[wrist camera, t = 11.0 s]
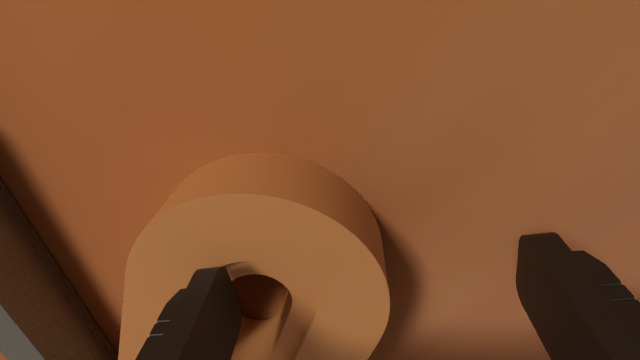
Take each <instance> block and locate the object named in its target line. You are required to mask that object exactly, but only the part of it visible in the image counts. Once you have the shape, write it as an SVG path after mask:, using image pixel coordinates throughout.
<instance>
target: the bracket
mask: <svg viewBox="0 0 640 360" xmlns="http://www.w3.org/2000/svg"><path fill="white" fill-rule="evenodd" d="M221 266H223V267H225V268H226V269H227V271H228V273H229V276H230V278H231V281H232V283H233V280H235V279H236V278H238V277H241V276H244V275H249V274H259V275H265V276H269V277H271V278H274V279H276V280H278V281H279V282H281V283H282V284H283V285H284V286H285V287H286V288H287V289H288V291H287V293H286V296H285V298H284V301H283V303H282V306H281V308H280V311H279V312H278V313H277V314H276V315H275V316H274V317H272V318H269V319H266V320H252V319H248V318H245V317H243V316H242V324H241V328H240V331H239V335H238V338H237V341H236V345H235V348H234V351H233V354H232V358H231V360H368V358H369V357H370V355H371V354H372V352H373V350H374V349H375V347H376V345H377V344H378V342H379V341H380V339H381V337H382V335H383V333H384V331H385V329H386V326H387V323H388V319H389V313H390V295H389V287H388V280H387V273H386V266H385V258H384V251H383V244H382V237H381V233H380V229H379V226H378V223H377V221H376V218H375V216H374V214H373V213H372V211H371V209H370V207H369V206H368V205H367V203H366V202H365V201H364V199H363V198H362V197H361V196H360V195H359V193H358V192H357V191H356V190H355V189H354V188H353V187H351V186H350V185H349V184H348V183H347V182H346V181H344V180H343V179H342V178H340V177H339V176H337V175H336V174H334V173H333V172H331V171H329V170H327V169H325V168H324V167H322V166H319V165H317V164H315V163H312V162H310V161H307V160H304V159H301V158H298V157H294V156H289V155H284V154H277V153H262V152H254V153H242V154H237V155H232V156H227V157H224V158H221V159H218V160H215V161H213V162H211V163H208V164H206V165H204V166H202V167H201V168H199V169H197V170H196V171H194V172H193V173H192V174H190V175H189V176H188V177H187V178H186V179H185V180H184V181H183V182H182V183H181V184H180V185H179V186H178V187H177V188H176V189H175V191H174V192H173V193H172V194H171V196H170V197H169V198H168V199H167V201H166V202H165V203H164V204H163V206H162V207H161V208H160V209H159V211H158V212H157V213H156V214H155V216H154V217H153V218H152V219H151V221H150V222H149V223H148V224H147V226H146V227H145V228H144V229H143V231H142V232H141V233H140V235H139V236H138V237H137V239H136V240H135V242H134V244H133V246H132V248H131V250H130V253H129V256H128V259H127V264H126V271H125V283H124V295H123V307H122V319H121V330H120V342H119V354H118V360H135V359H136V357H137V355H138V354H139V352H140V350H141V348H142V346H143V345H144V343H145V341H146V339H147V337H149V336H150V332H151V330H152V328H153V326H154V325H155V323H157V319H158V317H159V315H160V314H161V312H162V310H163V308H164V306H165V304H166V303H167V302H168V301H169V300H170V299H171V298H172V297H173V296H174V295H175V294H176V293H177V292H178V291H179V290H180V289H185V288H187V286H188V284H189V282H190V280H191V278H192V276H193V274H194V272H195V271H196V270H197V269H202V268H212V267H221Z"/></svg>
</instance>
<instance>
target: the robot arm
mask: <svg viewBox="0 0 640 360" xmlns="http://www.w3.org/2000/svg"><path fill="white" fill-rule="evenodd" d="M516 286H517V292H518V295H519V299H520V301H521V303H522V306H523V307H524V309H525V311H526V313H527V315H528V317H529V319H530V321H531V322H532V324H533V326H534V328H535V330H536V332H537V334H538V336H539V337H540V339H541V341H542V343H543V345H544V347H545V349H546V351H547V353H548V354H549V356H550V358H551V360H640V302H639V301H638V300H635V299H634V296H633V295H632V293H631V292H630V291H629V290H628V289H627V288H626V287H625V286H624V285H621V281H620V280H619V279H618V278H617V277H616V276H615V274H614V273H613V272H612V271H611V270H610V269H609V268H608V267H607V266H606V264H604V263H603V262H601V261H599V260H598V259H596V258H594V257H593V256H591V255H590V254H588V253H586V252H585V251H583V250H582V251H571V250H570V249H569V247H568V246H567V245H566V244H565V242H564V241H563V240H562V239H561V237H560V236H559V235H558V234H556V233H554V232H550V233H541V234H532V235H523V236H521V237H520V240H519V248H518V261H517V273H516ZM241 324H242V307H241V303H240V301H239V298H238V296H237V293H236V291H235V288H234V286H233V283H232V281H231V278H230V276H229V273H228V271H227V269H226V268H225V267H223V266H221V267H212V268H202V269H197V270H196V271H195V272H194V274H193V276H192V278H191V280H190V282H189V284H188V286H187V288H185V289H180V290H179V291H178V292H177V293H176V294H175V295H174V296H173V297H172V298H171V299H170V300H169V301H168V302H167V303H166V304H165V306H164V308H163V310H162V312H161V314H160V315H159V317H158V319H157V323H155V325H154V326H153V328H152V330H151V332H150V336H149V337H147V339H146V341H145V343H144V345H143V346H142V348H141V350H140V352H139V354H138V355H137V357H136V359H135V360H231V358H232V354H233V351H234V348H235V345H236V341H237V338H238V335H239V331H240V328H241Z"/></svg>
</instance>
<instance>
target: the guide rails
mask: <svg viewBox="0 0 640 360" xmlns="http://www.w3.org/2000/svg"><path fill="white" fill-rule="evenodd" d="M0 351H1V353H2V354H3V355H4V356H5V357H6V358H7V359H8V360H118V355H117V353H116V352H115V350H114V349H113V347H112V346H111V344H110V343H109V341H108V340H107V338H106V337H105V335H104V334H103V332H102V331H101V329H100V328H99V326H98V325H97V323H96V322H95V320H94V319H93V317H92V316H91V314H90V313H89V311H88V310H87V308H86V307H85V305H84V304H83V302H82V301H81V299H80V298H79V296H78V295H77V293H76V292H75V290H74V288H73V287H72V285H71V284H70V282H69V281H68V279H67V278H66V276H65V275H64V273H63V272H62V270H61V269H60V267H59V266H58V264H57V263H56V261H55V260H54V258H53V257H52V255H51V254H50V252H49V251H48V249H47V248H46V246H45V245H44V243H43V242H42V240H41V239H40V237H39V236H38V234H37V233H36V231H35V230H34V228H33V227H32V225H31V224H30V222H29V221H28V219H27V218H26V216H25V215H24V213H23V212H22V210H21V209H20V207H19V205H18V204H17V202H16V201H15V199H14V198H13V196H12V195H11V193H10V192H9V190H8V189H7V187H6V186H5V184H4V183H3V181H2V180H1V178H0Z"/></svg>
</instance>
